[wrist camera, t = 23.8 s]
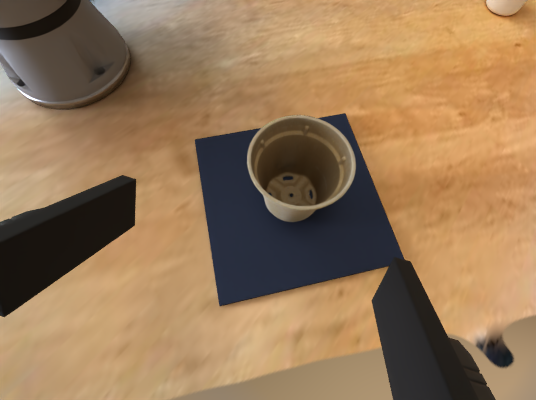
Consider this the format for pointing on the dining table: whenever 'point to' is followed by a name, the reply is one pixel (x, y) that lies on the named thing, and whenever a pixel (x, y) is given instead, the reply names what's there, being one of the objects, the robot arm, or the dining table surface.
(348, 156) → the flower pot
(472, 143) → the dining table surface
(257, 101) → the dining table surface
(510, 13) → the white vase
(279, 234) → the placemat
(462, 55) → the dining table surface
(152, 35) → the dining table surface
